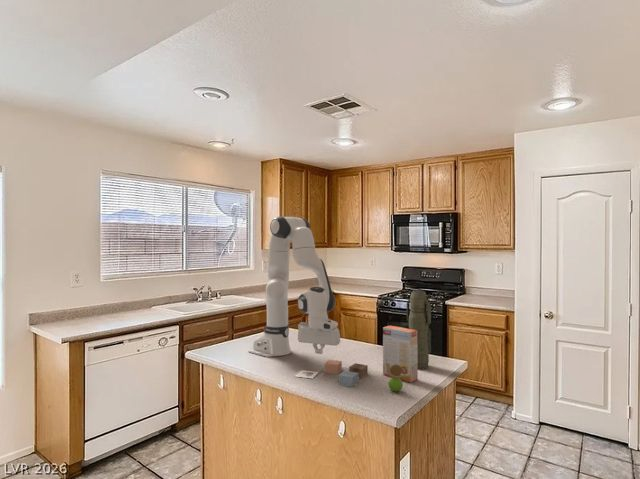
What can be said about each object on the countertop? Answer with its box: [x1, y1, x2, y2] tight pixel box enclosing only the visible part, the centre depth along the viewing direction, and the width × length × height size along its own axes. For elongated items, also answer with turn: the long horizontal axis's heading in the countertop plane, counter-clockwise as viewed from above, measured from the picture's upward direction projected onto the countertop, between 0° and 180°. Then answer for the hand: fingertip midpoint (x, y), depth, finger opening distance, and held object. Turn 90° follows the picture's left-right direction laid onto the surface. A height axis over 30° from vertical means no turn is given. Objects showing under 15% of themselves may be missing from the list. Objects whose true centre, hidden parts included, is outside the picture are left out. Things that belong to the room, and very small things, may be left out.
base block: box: [348, 362, 369, 379], centre depth 168 cm, size 6×6×4 cm
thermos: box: [406, 289, 432, 370], centre depth 179 cm, size 9×12×35 cm
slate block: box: [338, 370, 360, 388], centre depth 158 cm, size 6×6×4 cm
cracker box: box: [382, 325, 419, 383], centre depth 165 cm, size 14×6×21 cm, turn 43°
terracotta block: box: [324, 359, 343, 375], centre depth 173 cm, size 6×6×4 cm
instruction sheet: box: [294, 369, 319, 380], centre depth 168 cm, size 8×8×1 cm
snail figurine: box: [386, 359, 404, 393], centre depth 150 cm, size 5×6×12 cm
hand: (319, 353), depth 177 cm, fingers closed
